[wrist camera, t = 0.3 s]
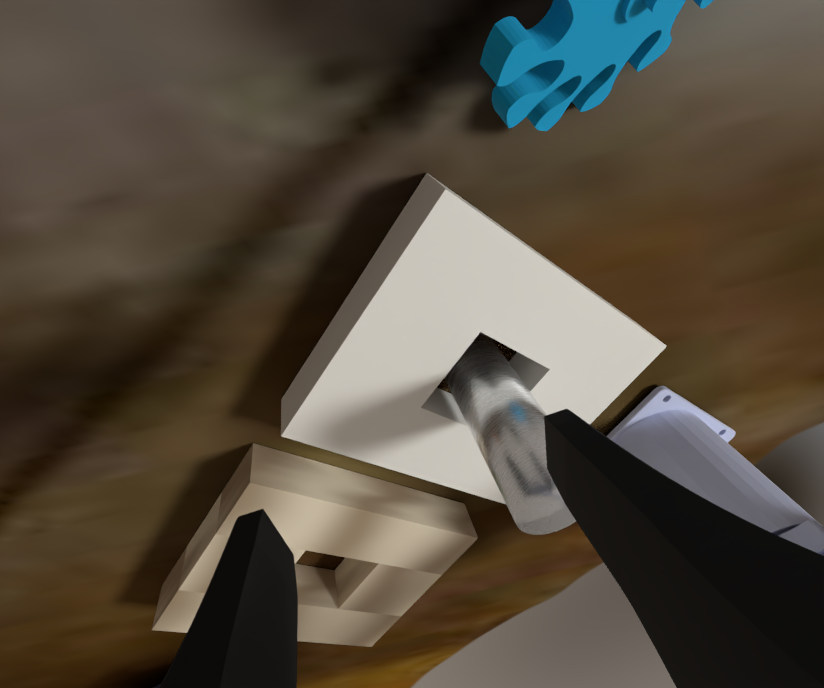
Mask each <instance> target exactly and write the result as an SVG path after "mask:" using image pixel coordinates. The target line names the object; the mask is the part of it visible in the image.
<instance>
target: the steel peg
mask: <svg viewBox="0 0 824 688" xmlns="http://www.w3.org/2000/svg"><path fill="white" fill-rule="evenodd" d="M445 380H446V383H447V385H448V387H449V389H450V391H451V393H452V395H453V397H454V399H455V401H456V403H457V405H458V407H459V409H460V411H461V413H462V415H463V417H464V419H465V421H466V423H467V425H468V427H469V429H470V431H471V433H472V435H473V437H474V439H475V442H476V444H477V446H478V448H479V450H480V452H481V454H482V456H483V458H484V460H485V462H486V464H487V466H488V468H489V470H490V472H491V474H492V476H493V478H494V480H495V482H496V484H497V486H498V488H499V490H500V492H501V494H502V496H503V499H504V501H505V503H506V505H507V507H508V509H509V511H510V513H511V515H512V517H513V519H514V521H515V523H516V525H517V527H518V528H519V529H520V530H521V531H523V532H525V533H528V534H535V535H540V534H548V533H552V532H555V531H558V530H561V529H563V528H565V527H567V526H569V525H571V524H573V523H574V522H576V520H575V518H574V517H573V515H572V514H571V512H570V511H569V509H568V508H567V506H566V504H565V503H564V501H563V499H562V497H561V495H560V493H559V491H558V489H557V487H556V486H555V484H554V482H553V480H552V478H551V476H550V474H549V472H548V470H547V459H546V441H545V424H544V416H546V413H545V412H544V410H543V409H542V408H541V406H540V405H539V403H538V402H537V401H536V399H535V398H534V397H533V395H532V394H531V392H530V391H529V390H528V388H527V387H526V386H525V384H524V383H523V381H522V380H521V379H520V377H519V376H518V375H517V373H516V372H515V370H514V369H513V368H512V366H511V365H510V363H509V362H508V361H507V359H506V358H505V357H504V355H503V354H502V352H501V351H500V350H499V348H498V347H497V346H496V344H495V343H494V341H493V340H492V339H491V338H490V337H489V336H487V335H485V334H483V333H481V332H480V333H479V335H478V336H477V337H476V338H475V340H474V341H473V342H472V343H471V345H470V346H469V347H468V348H467V350H466V351H465V352H464V354H463V355H462V356H461V357H460V359H459V360H458V361H457V362H456V364H455V365H454V366H453V367H452V369H451V370H450V371H449V372H448V374H447V375H446V376H445Z"/></svg>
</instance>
